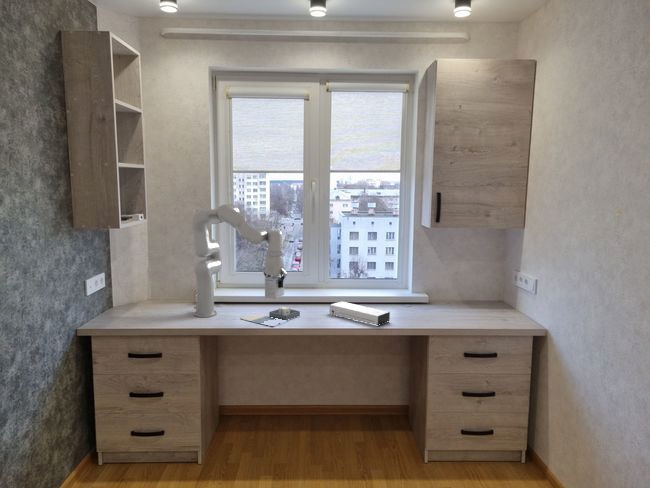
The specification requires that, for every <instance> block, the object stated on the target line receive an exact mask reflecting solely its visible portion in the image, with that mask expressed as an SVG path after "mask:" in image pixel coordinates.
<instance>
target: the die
mask: <svg viewBox="0 0 650 488" xmlns="http://www.w3.org/2000/svg"><path fill="white" fill-rule="evenodd" d="M278 309H279V314H282V315H288V314H290V309H291V308H290V307H287V306H282V307H279V308H278Z"/></svg>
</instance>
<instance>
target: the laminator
mask: <svg viewBox="0 0 650 488" xmlns="http://www.w3.org/2000/svg"><path fill="white" fill-rule="evenodd" d="M331 314H333V315H332V316H335V315H337V316H336V317H338V316H341V317H340V318H342V317H345V318H344V319H346V318H350V319H354V320H358V321H363V322H367V323H372V324H376V325H379V324H382V323H384V324H386V323H385V322H387V321H389V322H390V316H391V315H390V314H391V313H390V311H387V310H383V309H382V310H381V309H377V308H373V307H369V306H364V305H359V304H355V303H350V302H346V301H343V300H342V301H338V302H335V303H334V302H333V303H331V304H330V305H329V315H331ZM350 319H349V320H350ZM354 320H353V321H354ZM358 321H357V322H358ZM387 323H388V322H387ZM382 325H383V324H382ZM379 326H380V325H379Z"/></svg>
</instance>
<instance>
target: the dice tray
mask: <svg viewBox="0 0 650 488" xmlns="http://www.w3.org/2000/svg"><path fill="white" fill-rule="evenodd" d="M300 313H301V311H300V310H296V309H291V308H290V314H288V315H282V314H279V308H278V309H275V310H271V311H269V312H268V314H269V316H268V317H273V318H278V319H282V320H287V321H289V320H288V319H290V320H292V319H291V318H293V319H295V318H294V317H296V318H298V317H297V316H299V317H300V315H301V314H300Z"/></svg>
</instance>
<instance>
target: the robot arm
mask: <svg viewBox="0 0 650 488" xmlns="http://www.w3.org/2000/svg"><path fill="white" fill-rule="evenodd" d="M247 220H248V219H247V216H245V215H243V214H242V213H241V212H240V209H239V207H238V206H236V205H235V204H231V203H230V204H222V205H221V204H220V205H219V206H218V207H217V208H211V209H208V208H207V209H201V210H199V211H197V212H195V213H194V214H193V215H192V218H191V228H192V234H193V235H192V236H193V242H194V252H195V255H196V256H197V257H198V258H206V259H200V260H199V261H197V262H196V264H195V265H194V269H193V270H194V271H193V272H194V275H195V282H196V283H195V284H196V286H195V287H196V291H195V293H196V305H195V306H194V307H193V309H194V310H195V312H193V315H194V316H195V317H198V318H209V317H214V316H216V315H217V314H218V311H217V310H215V290H214V289H215V286H214V283H215V282H214V280H213V277H212V275H215V274H218V273H220V271H221V269H222V266H223V265H222V253H221V246H220V244H219V242H218V241H217V240H215V239H212V238H210V232H209V229H208V227H207V226H208V225H219V224H222V223H226V224H228V225H229V226H231V227H232V228H234V229H235V230H236V232H238V234H239V236H240V237H242V238H243V239H244V240H245V241H247V242H249V243H251V244H253V245H262V244H267V250H266V253H267V255H266V256H265V262H264V267H263V269H262V273H263V275H264V279H265V278H267V277H270V276H278V278H279V280H278V288H281V287H283V280H284V281H285V279H286V277H287V275H288V272H287V271H286V270H285V267H284V266H285V265H284V258H283V232H282V231H281V230H270V229H264V228H263V229H262V228H261V229H255V228H253V227H252V226H250V225H249V224H248V223H247ZM280 276H281V277H280Z"/></svg>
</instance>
